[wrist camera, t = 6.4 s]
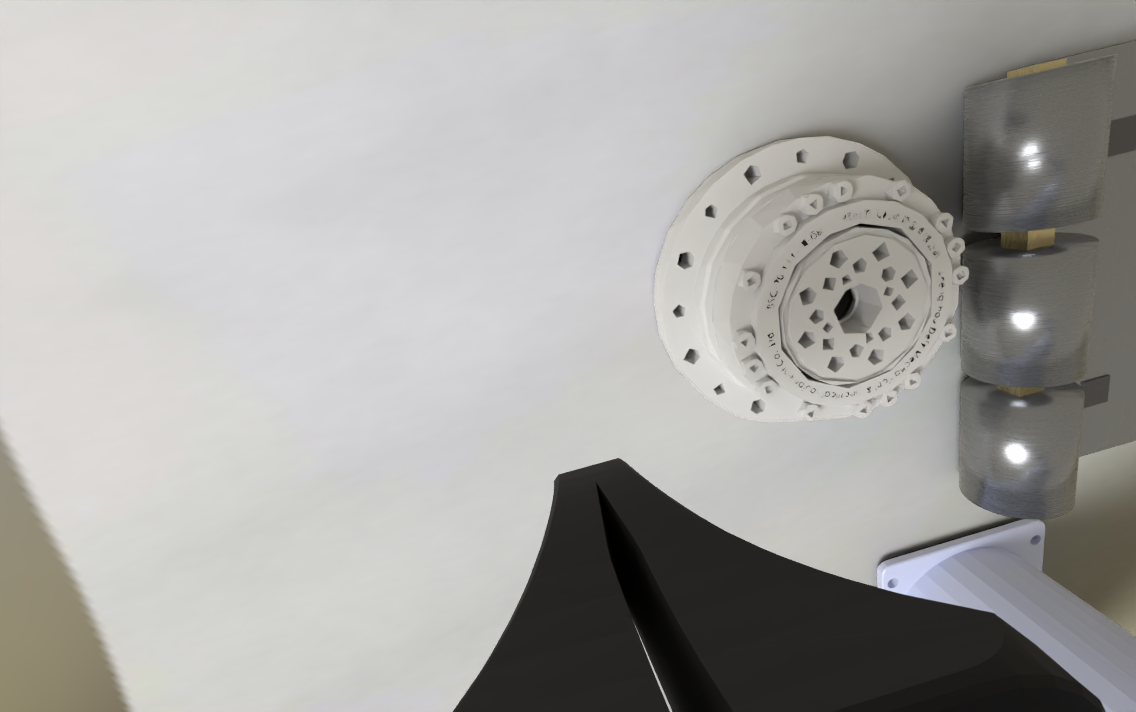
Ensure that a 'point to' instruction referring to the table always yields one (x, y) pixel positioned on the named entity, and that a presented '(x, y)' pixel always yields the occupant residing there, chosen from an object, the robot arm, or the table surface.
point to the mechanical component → (807, 282)
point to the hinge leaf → (1048, 279)
